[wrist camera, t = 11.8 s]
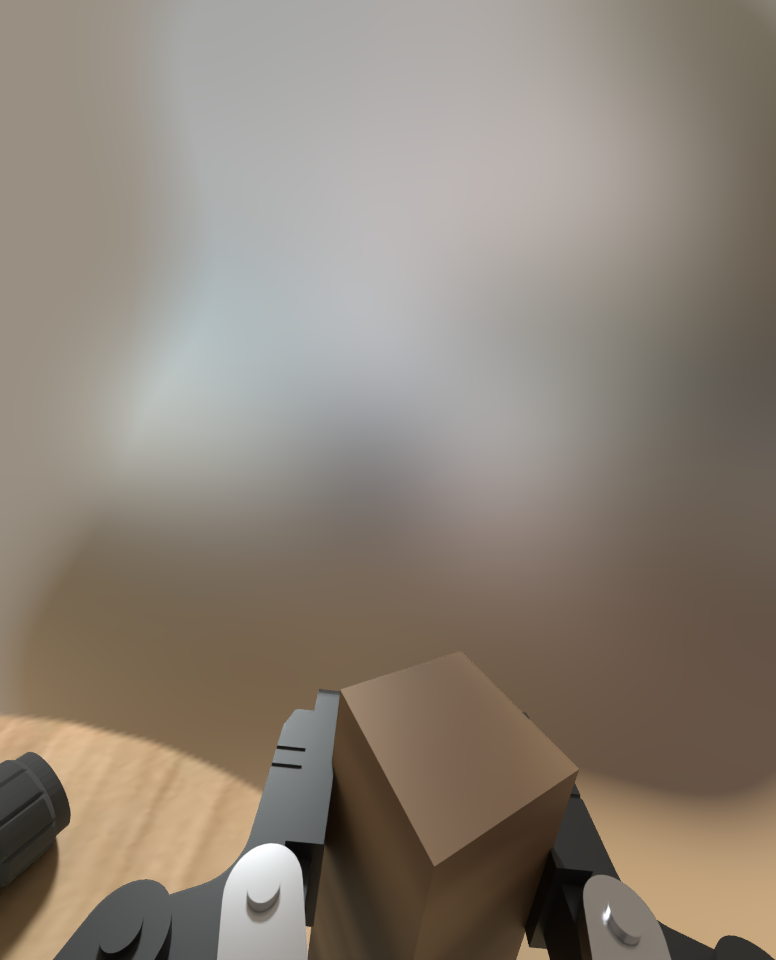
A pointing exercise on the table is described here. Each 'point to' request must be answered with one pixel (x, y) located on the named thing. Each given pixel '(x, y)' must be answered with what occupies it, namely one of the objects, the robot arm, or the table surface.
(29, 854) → the flashlight
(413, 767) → the wooden peg
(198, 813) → the table surface
